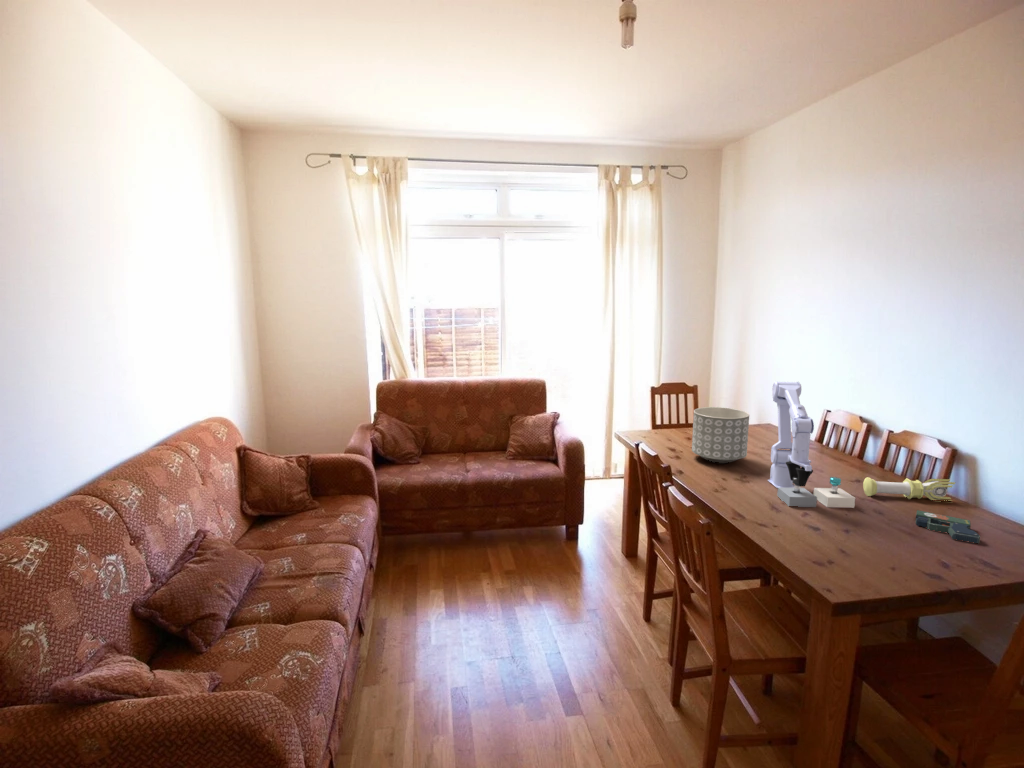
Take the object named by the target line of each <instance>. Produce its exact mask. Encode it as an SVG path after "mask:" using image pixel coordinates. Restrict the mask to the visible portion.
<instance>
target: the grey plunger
mask: <svg viewBox="0 0 1024 768" xmlns="http://www.w3.org/2000/svg"><path fill="white" fill-rule="evenodd" d="M792 483H793V485H794V493H795V494H800V488H801V486H799V485H798V477H793V481H792Z"/></svg>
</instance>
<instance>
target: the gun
mask: <svg viewBox="0 0 1024 768" xmlns="http://www.w3.org/2000/svg"><path fill="white" fill-rule="evenodd" d="M915 525H916V526H917V527H920V526H922V528H925V527H927V528H926V529H927V530H928V529H930V530H929V531H932V530H935V531H934V532H938V531H941V532H940V533H943V532H947V533H949V534H948V535H949V536H950V538H951V540H953V539H957V540H956V541H958V540H963V541H969V542H974V543H978V544H980V540H981V535H980V534H979V533H978V532H976V531H975V530H973V529H971V527H972V526H971V520H969V519H965V518H964V519H963V518H959V517H954V516H949V515H944V514H938V513H935V512H929V511H923V510H919V509H917V510H916V514H915ZM947 533H946V534H947ZM963 541H962V542H963ZM969 542H968V543H969ZM974 543H973V544H974Z"/></svg>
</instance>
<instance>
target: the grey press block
mask: <svg viewBox="0 0 1024 768" xmlns="http://www.w3.org/2000/svg"><path fill="white" fill-rule="evenodd" d="M813 494H814V493H811V492H810V491H809V490H808V489H806V488H805V487H800V494H795V493H794V488H780V487H778V488H777V493H776V496H778V497H779V498H780V499H781V500H780V499H779V498H778V497H777V498H778V499H779V500H780V501H782V502H783V501H784V502H785V503H786V504H787V505H786V504H785V503H784V502H783V503H784V504H785V505H786V506H787V507H789V506H798V507H797V508H817V502H818V500H817V497H816V496H815V495H813Z"/></svg>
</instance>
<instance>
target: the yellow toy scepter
mask: <svg viewBox="0 0 1024 768" xmlns="http://www.w3.org/2000/svg"><path fill="white" fill-rule="evenodd" d="M955 484H956V482H953V481H951V479H950V478H949V479H948V478H947V479H946V478H930V479H927V480H925V481H924V482H922V481H920V480H919V479H915V480H911V479H909V478H905V479H904V480H903V481H902V482H893V481H892V482H890V481H879V480H878V481H877V480H875V479H873V478H871V477H869V476H868V477H865V478H864V480H863V483H862V488H863V492H864V495H865V496H867V497H871V496H874V495H876V494H889V495H890V494H891V495H892V494H893V495H895V494H896V495H903V497H905V498H906V497H907V498H906V499H908V500H911V499H912V498H917V499H922V498H923V497H926V498H928V499H929V500H930V501H932V500H944V501H945V500H946V501H947V500H948V501H953V500H952V498H951V497H949V496H947V494H948V489H947V488H953V486H954V485H955Z"/></svg>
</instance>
